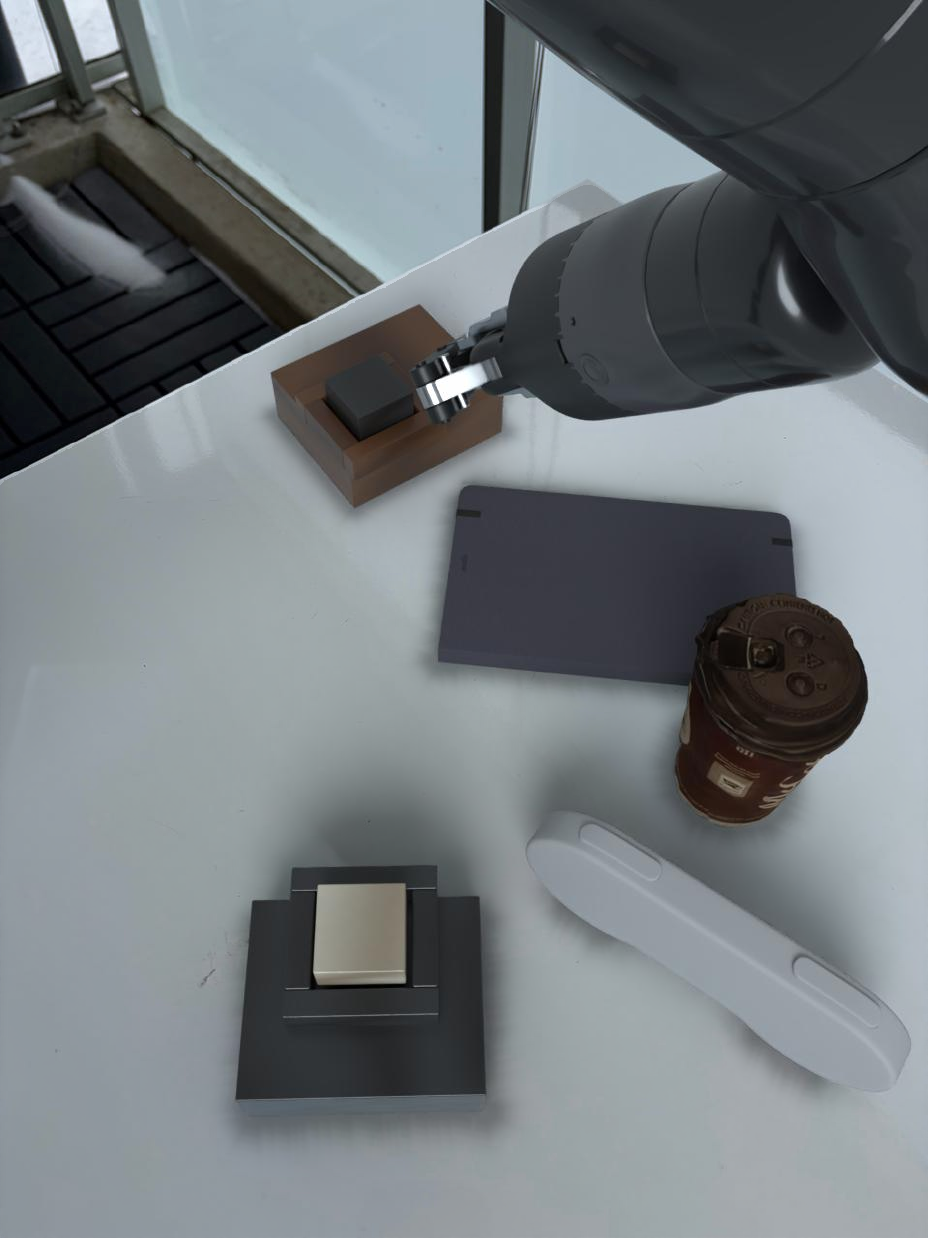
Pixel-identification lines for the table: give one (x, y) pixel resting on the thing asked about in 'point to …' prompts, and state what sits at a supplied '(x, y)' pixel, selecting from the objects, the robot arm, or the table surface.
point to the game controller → (721, 951)
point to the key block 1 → (397, 447)
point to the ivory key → (360, 934)
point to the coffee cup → (765, 705)
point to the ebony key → (369, 397)
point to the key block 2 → (363, 1009)
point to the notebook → (600, 581)
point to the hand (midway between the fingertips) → (453, 363)
